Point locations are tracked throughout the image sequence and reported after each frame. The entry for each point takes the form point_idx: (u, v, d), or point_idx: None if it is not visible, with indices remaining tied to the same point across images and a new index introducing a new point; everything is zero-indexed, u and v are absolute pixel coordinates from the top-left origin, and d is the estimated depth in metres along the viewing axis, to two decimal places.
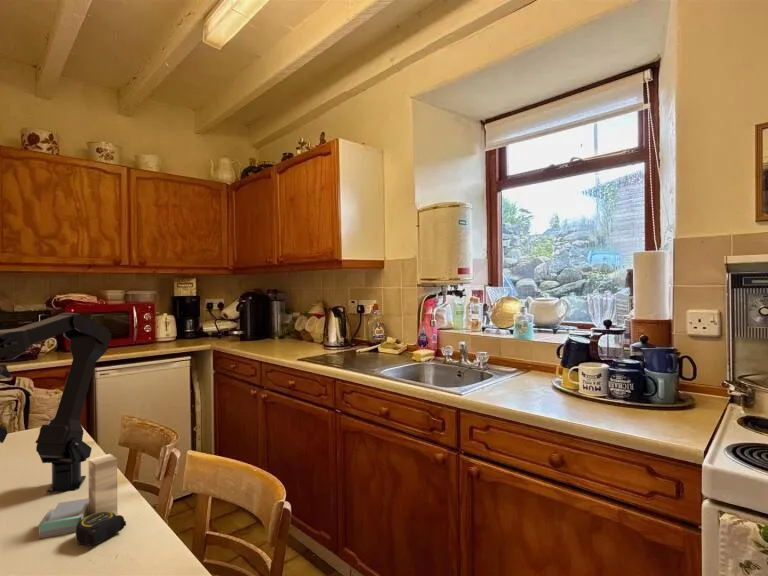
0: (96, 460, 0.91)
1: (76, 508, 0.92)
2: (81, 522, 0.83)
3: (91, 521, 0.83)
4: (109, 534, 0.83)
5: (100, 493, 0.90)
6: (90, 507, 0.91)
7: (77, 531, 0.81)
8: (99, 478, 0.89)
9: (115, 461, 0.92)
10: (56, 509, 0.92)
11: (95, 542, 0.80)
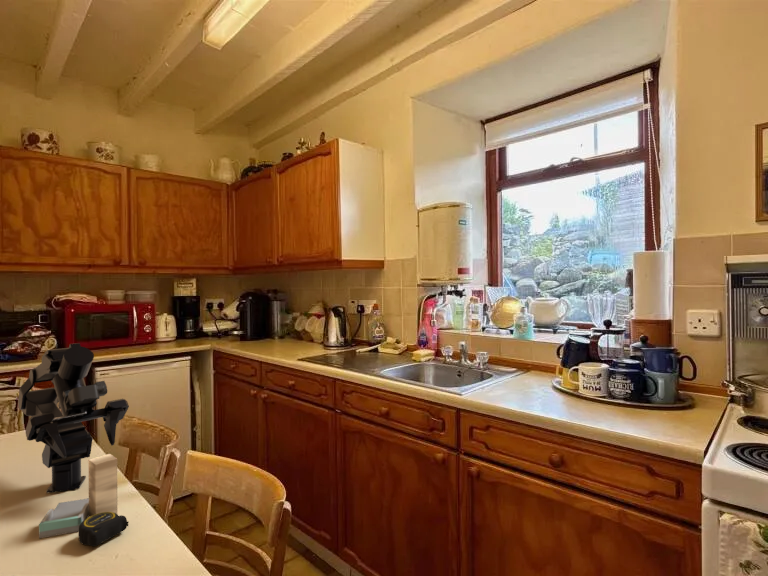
0: (96, 460, 0.91)
1: (76, 508, 0.92)
2: (83, 522, 0.83)
3: (94, 521, 0.83)
4: (112, 534, 0.83)
5: (100, 493, 0.90)
6: (90, 507, 0.91)
7: (79, 532, 0.81)
8: (99, 478, 0.89)
9: (115, 461, 0.92)
10: (56, 509, 0.92)
11: (98, 542, 0.80)
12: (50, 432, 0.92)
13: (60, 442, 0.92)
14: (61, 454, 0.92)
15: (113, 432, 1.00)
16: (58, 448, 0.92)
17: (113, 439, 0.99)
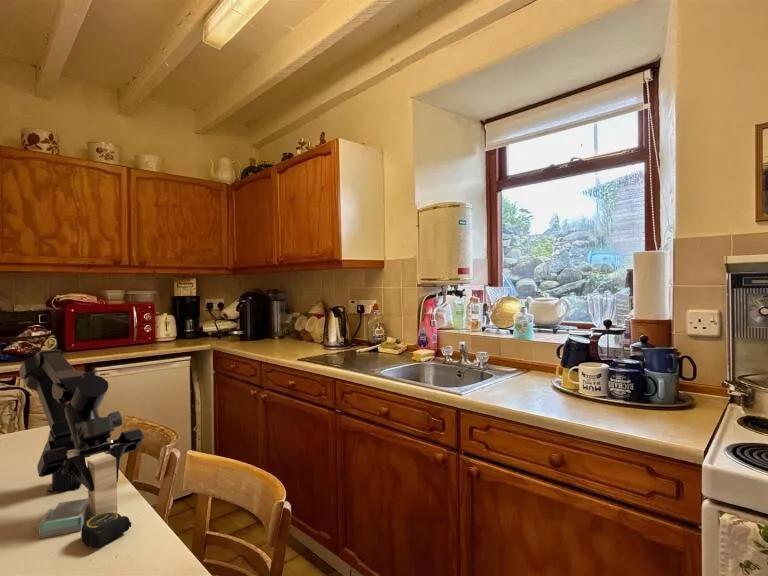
0: (95, 460, 0.91)
1: (76, 508, 0.92)
2: (86, 523, 0.82)
3: (96, 522, 0.83)
4: (114, 535, 0.83)
5: (100, 493, 0.90)
6: (90, 507, 0.91)
7: (82, 532, 0.81)
8: (98, 478, 0.89)
9: (114, 461, 0.92)
10: (56, 509, 0.92)
11: (101, 543, 0.80)
12: (77, 464, 0.89)
13: (88, 475, 0.90)
14: (89, 487, 0.89)
15: (116, 469, 0.94)
16: (86, 481, 0.89)
17: None
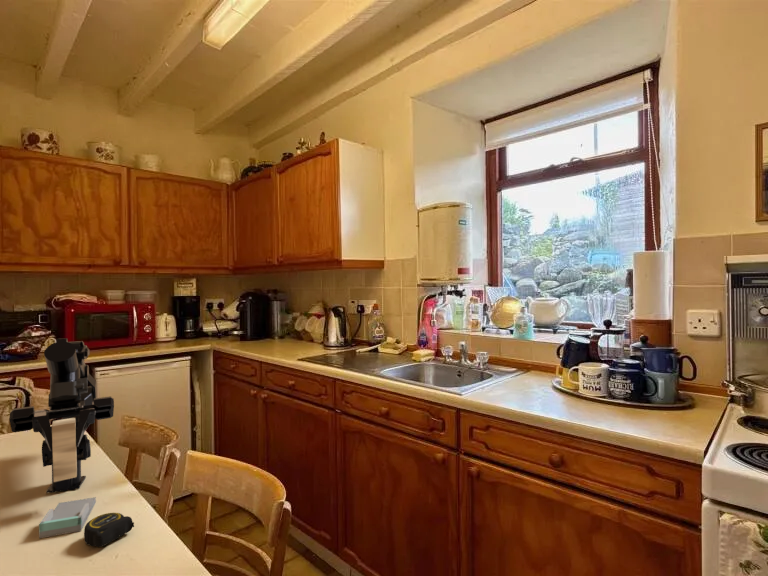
0: (57, 422, 0.94)
1: (76, 508, 0.92)
2: (89, 523, 0.82)
3: (99, 522, 0.83)
4: (117, 535, 0.83)
5: (58, 454, 0.93)
6: None
7: (85, 532, 0.81)
8: (56, 439, 0.93)
9: (73, 425, 0.94)
10: (56, 509, 0.92)
11: (103, 543, 0.80)
12: (41, 424, 0.94)
13: (49, 435, 0.94)
14: (49, 447, 0.93)
15: (79, 433, 0.96)
16: (47, 441, 0.93)
17: (77, 440, 0.95)
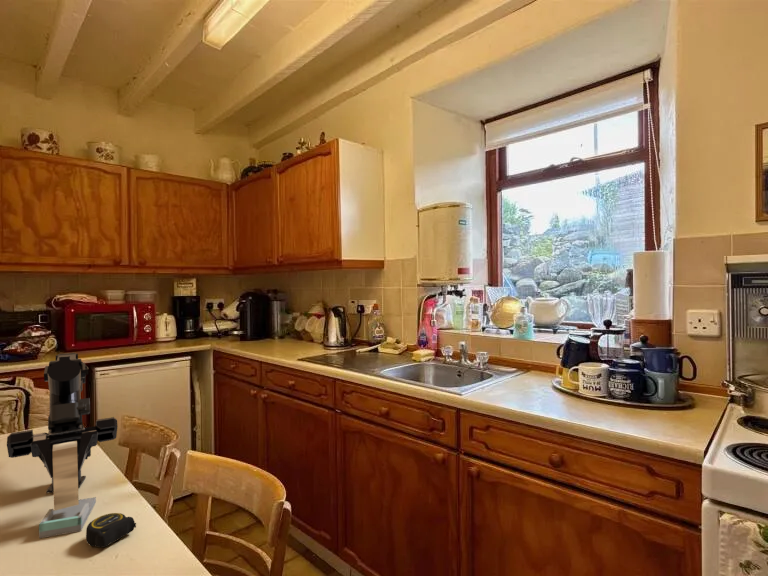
0: (58, 447, 0.89)
1: (76, 508, 0.92)
2: (91, 524, 0.82)
3: (101, 522, 0.83)
4: (119, 536, 0.82)
5: (59, 481, 0.87)
6: None
7: (87, 533, 0.81)
8: (57, 465, 0.87)
9: (75, 449, 0.89)
10: None
11: (105, 544, 0.80)
12: (41, 449, 0.88)
13: (49, 460, 0.88)
14: (49, 473, 0.88)
15: (81, 457, 0.91)
16: (47, 467, 0.88)
17: (79, 465, 0.90)
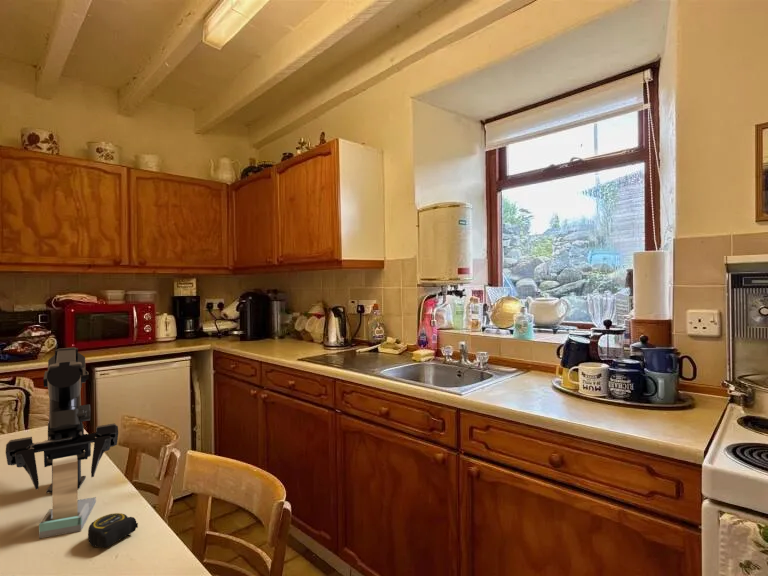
0: (57, 461, 0.87)
1: None
2: (93, 524, 0.82)
3: (103, 523, 0.83)
4: (121, 536, 0.82)
5: (58, 497, 0.86)
6: None
7: (89, 533, 0.81)
8: (57, 480, 0.86)
9: (75, 464, 0.87)
10: None
11: (107, 544, 0.80)
12: (25, 459, 0.85)
13: (34, 471, 0.85)
14: (34, 485, 0.85)
15: (94, 462, 0.91)
16: (32, 478, 0.85)
17: (93, 470, 0.90)
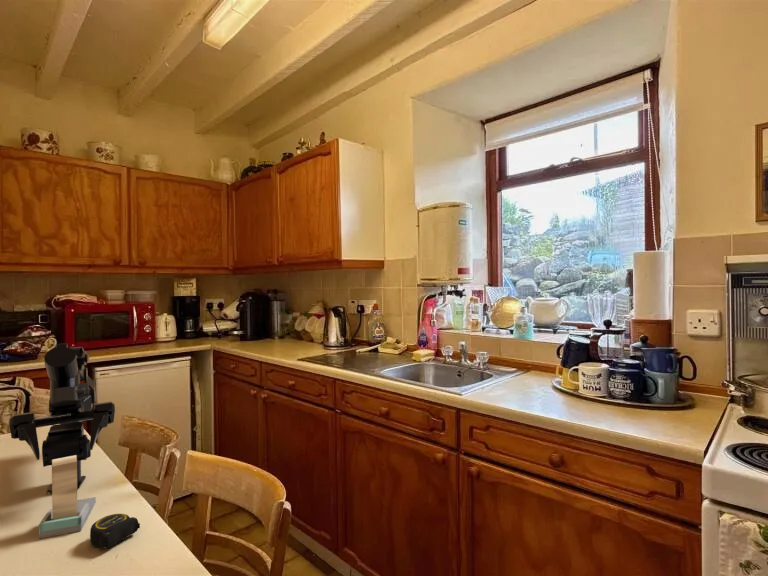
0: (57, 461, 0.87)
1: None
2: (95, 524, 0.82)
3: (105, 523, 0.83)
4: (123, 536, 0.82)
5: (58, 497, 0.86)
6: None
7: (91, 533, 0.80)
8: (56, 481, 0.86)
9: (75, 464, 0.87)
10: None
11: (109, 545, 0.80)
12: (27, 432, 0.92)
13: (35, 443, 0.91)
14: (35, 455, 0.91)
15: (93, 436, 0.97)
16: (33, 449, 0.91)
17: (91, 443, 0.96)
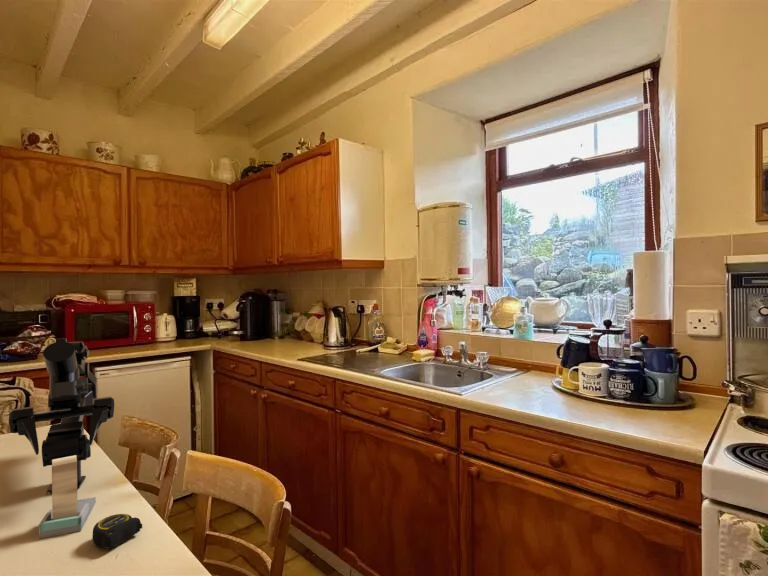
0: (57, 461, 0.87)
1: None
2: (97, 525, 0.82)
3: (108, 523, 0.83)
4: (126, 537, 0.82)
5: (58, 497, 0.86)
6: None
7: (94, 534, 0.80)
8: (56, 481, 0.86)
9: (75, 464, 0.87)
10: None
11: (112, 545, 0.80)
12: (27, 427, 0.91)
13: (35, 438, 0.91)
14: (34, 450, 0.91)
15: (92, 431, 0.97)
16: (32, 444, 0.91)
17: (91, 439, 0.96)
